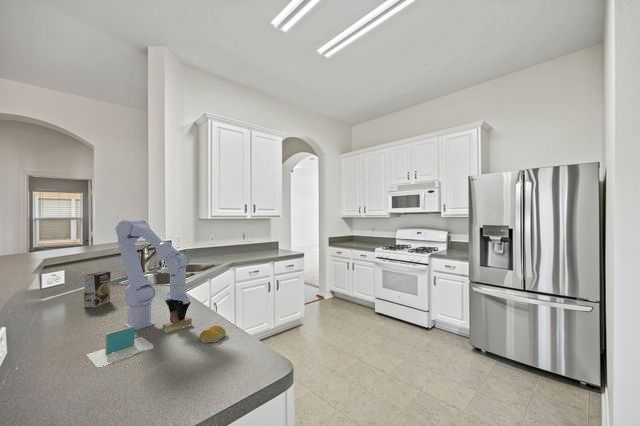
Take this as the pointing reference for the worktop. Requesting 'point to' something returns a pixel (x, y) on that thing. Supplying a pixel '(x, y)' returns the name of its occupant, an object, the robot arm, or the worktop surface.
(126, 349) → the rubber mat
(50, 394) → the worktop surface
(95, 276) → the coffee box
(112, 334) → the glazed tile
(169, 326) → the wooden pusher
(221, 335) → the bread roll
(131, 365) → the worktop surface
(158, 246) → the robot arm
